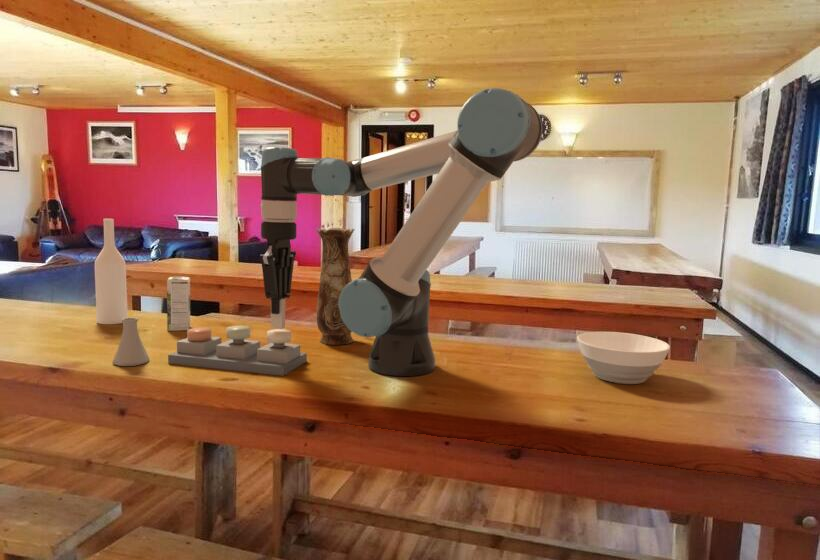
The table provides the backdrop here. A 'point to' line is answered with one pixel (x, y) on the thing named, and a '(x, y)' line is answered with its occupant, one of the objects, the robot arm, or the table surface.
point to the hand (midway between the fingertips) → (277, 327)
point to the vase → (333, 285)
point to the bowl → (622, 355)
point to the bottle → (110, 280)
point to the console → (238, 356)
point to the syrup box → (178, 303)
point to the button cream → (279, 337)
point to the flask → (130, 346)
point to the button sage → (238, 334)
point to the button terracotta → (199, 334)
